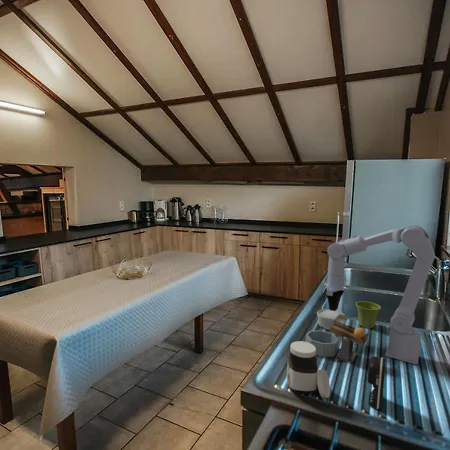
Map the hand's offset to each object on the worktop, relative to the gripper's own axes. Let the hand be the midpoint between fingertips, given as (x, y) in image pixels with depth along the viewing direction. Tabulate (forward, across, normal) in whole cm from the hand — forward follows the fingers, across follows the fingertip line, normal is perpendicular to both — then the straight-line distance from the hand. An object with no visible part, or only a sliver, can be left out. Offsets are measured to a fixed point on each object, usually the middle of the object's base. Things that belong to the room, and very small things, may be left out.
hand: (333, 309), depth 122 cm
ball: (+1, +13, +12) cm, 18 cm away
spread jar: (+11, +38, +4) cm, 40 cm away
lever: (+3, +7, +8) cm, 11 cm away
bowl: (+10, +13, 0) cm, 17 cm away
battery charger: (+11, +33, +20) cm, 40 cm away
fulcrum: (+10, +13, +8) cm, 19 cm away
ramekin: (+11, -9, -3) cm, 14 cm away
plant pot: (+11, -19, +9) cm, 24 cm away
